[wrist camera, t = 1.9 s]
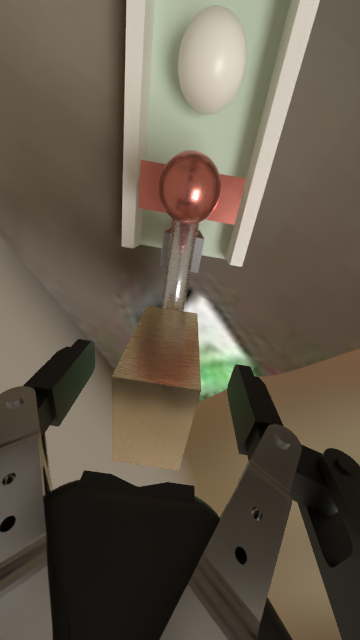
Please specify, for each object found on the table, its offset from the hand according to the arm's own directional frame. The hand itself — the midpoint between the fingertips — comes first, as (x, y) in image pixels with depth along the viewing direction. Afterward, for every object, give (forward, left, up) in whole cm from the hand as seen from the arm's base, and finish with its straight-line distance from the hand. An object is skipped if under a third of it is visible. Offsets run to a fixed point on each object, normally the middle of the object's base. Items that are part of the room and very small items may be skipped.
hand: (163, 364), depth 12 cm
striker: (-4, 0, -10) cm, 10 cm away
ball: (-16, 0, -9) cm, 18 cm away
